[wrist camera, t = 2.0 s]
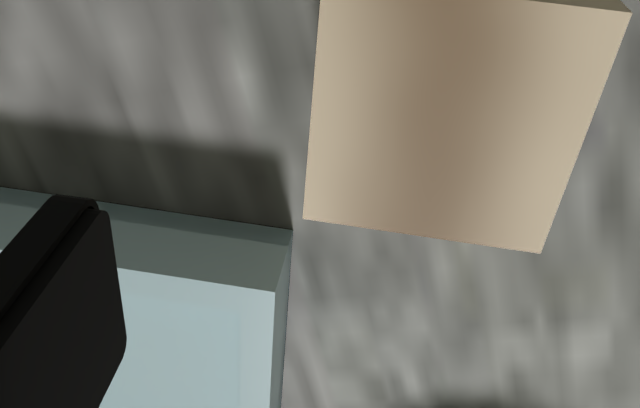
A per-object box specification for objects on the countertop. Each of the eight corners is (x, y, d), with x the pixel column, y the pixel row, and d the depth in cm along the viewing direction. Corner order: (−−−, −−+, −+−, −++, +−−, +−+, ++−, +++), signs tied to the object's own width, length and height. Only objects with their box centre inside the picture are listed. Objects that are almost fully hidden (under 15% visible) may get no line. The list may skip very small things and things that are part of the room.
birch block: (567, -54, 16) (632, 12, 11) (510, 139, 20) (540, 253, 15) (350, -78, 17) (322, -25, 12) (330, 115, 20) (302, 218, 15)
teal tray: (292, 229, 23) (275, 292, 20) (276, 464, 32) (263, 529, 29) (-99, 172, 24) (-169, 223, 21) (-6, 415, 33) (-46, 473, 30)
